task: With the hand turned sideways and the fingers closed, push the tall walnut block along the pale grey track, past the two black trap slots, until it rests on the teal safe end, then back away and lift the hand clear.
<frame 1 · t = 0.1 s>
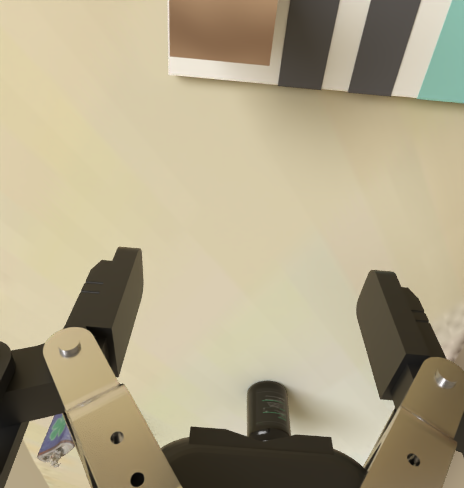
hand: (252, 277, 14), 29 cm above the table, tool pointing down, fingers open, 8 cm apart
slider block: (226, 0, 27), point 8 cm above the table, slide at -10.0 cm
flask: (74, 402, 73), on the table
supplement bottle: (266, 390, 70), on the table
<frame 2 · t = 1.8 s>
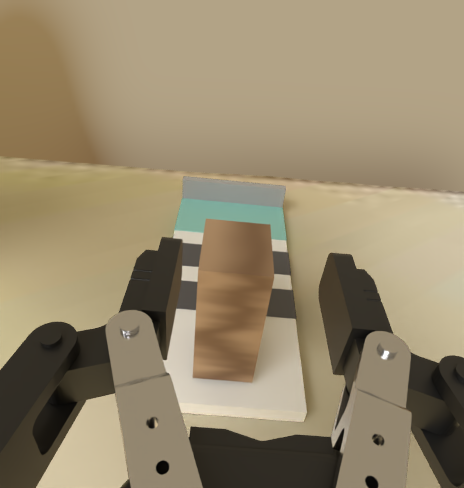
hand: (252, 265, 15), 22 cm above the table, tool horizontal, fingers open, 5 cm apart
slider block: (230, 304, 32), point 8 cm above the table, slide at -10.0 cm
track: (226, 288, 45), on the table
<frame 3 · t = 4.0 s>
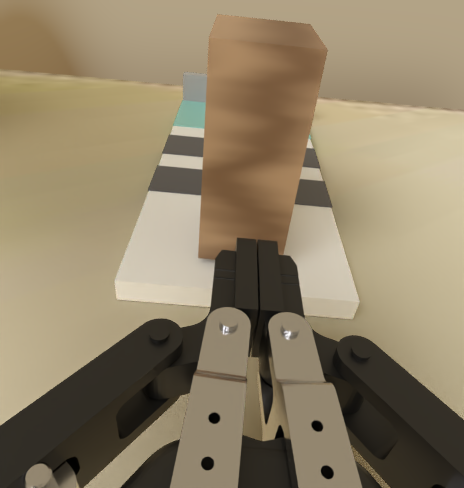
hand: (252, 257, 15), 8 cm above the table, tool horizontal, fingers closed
slider block: (251, 147, 23), point 8 cm above the table, slide at -10.0 cm
track: (239, 184, 36), on the table
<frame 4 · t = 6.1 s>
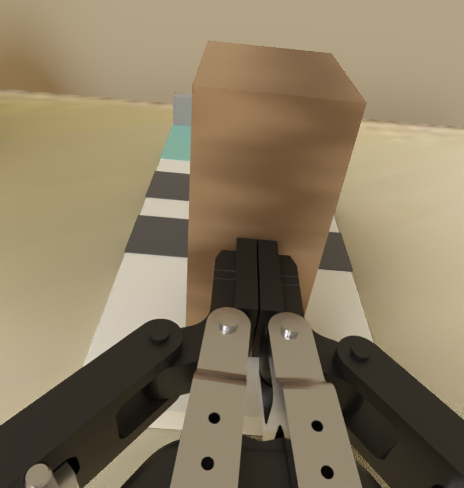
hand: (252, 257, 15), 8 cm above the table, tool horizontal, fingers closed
slider block: (253, 212, 18), point 8 cm above the table, slide at -9.3 cm, touching gripper
track: (238, 233, 30), on the table
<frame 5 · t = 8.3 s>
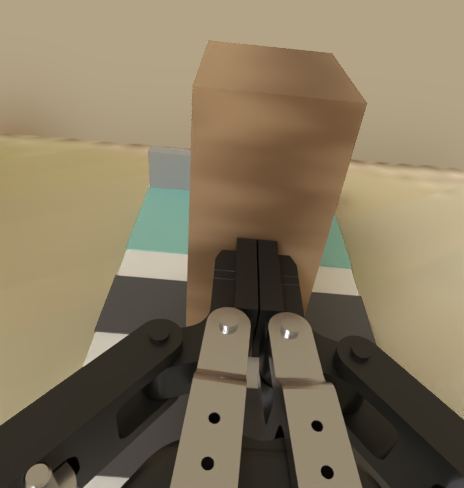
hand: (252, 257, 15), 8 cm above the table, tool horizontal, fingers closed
slider block: (253, 212, 18), point 8 cm above the table, slide at 3.4 cm, touching gripper
track: (234, 387, 20), on the table
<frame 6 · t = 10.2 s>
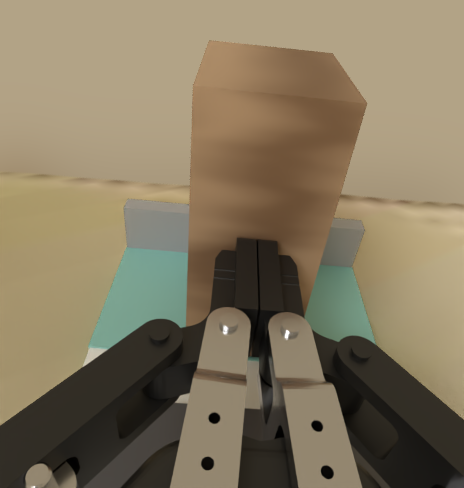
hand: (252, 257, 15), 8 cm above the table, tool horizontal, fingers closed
slider block: (253, 212, 18), point 8 cm above the table, slide at 10.9 cm, touching gripper
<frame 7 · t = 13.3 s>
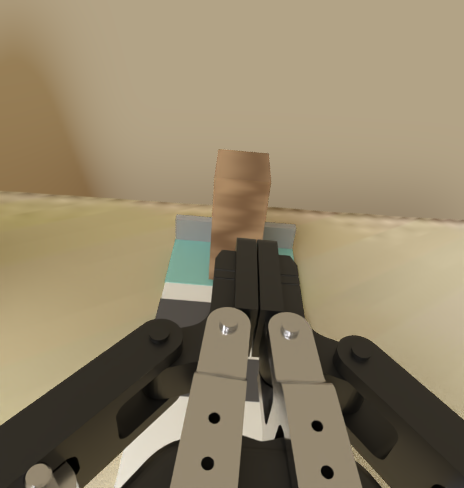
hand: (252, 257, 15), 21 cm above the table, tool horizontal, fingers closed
slider block: (237, 218, 41), point 8 cm above the table, slide at 11.5 cm
track: (227, 359, 37), on the table
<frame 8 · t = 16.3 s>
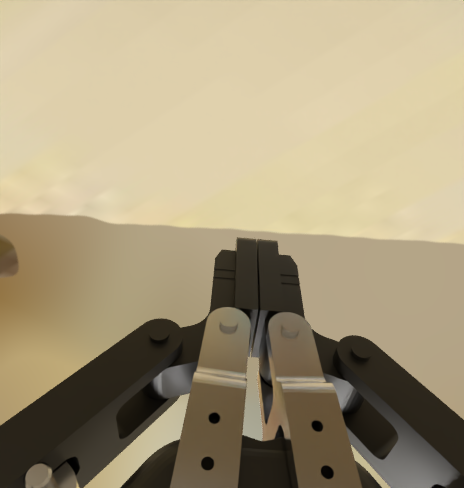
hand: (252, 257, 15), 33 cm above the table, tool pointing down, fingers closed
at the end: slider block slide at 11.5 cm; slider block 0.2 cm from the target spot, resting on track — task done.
